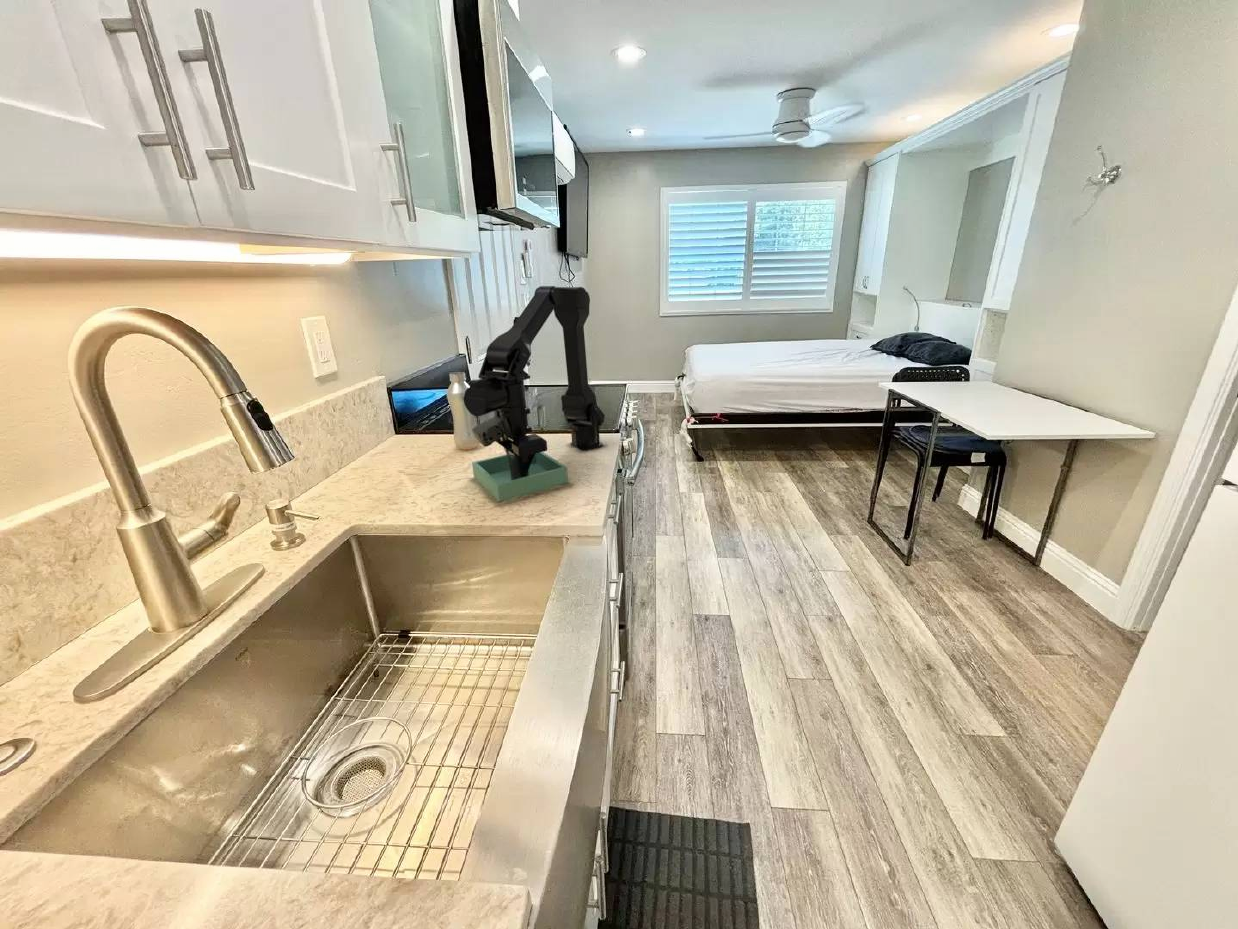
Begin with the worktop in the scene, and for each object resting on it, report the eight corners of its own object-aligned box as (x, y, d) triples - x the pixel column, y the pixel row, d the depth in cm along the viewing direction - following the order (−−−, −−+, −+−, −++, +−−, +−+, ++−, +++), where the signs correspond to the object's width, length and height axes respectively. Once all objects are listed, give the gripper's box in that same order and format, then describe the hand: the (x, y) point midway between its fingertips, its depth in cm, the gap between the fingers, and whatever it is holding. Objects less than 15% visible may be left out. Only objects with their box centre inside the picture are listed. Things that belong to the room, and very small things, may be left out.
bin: (537, 464, 118) (536, 447, 117) (568, 485, 106) (567, 467, 105) (474, 480, 110) (471, 462, 109) (500, 505, 98) (497, 485, 97)
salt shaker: (525, 474, 111) (521, 445, 108) (532, 480, 107) (529, 450, 105) (508, 478, 108) (504, 449, 106) (515, 484, 105) (511, 454, 103)
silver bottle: (474, 452, 127) (463, 376, 119) (450, 451, 128) (438, 375, 121) (485, 444, 133) (475, 370, 125) (462, 443, 134) (451, 370, 127)
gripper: (459, 401, 105) (469, 468, 111) (490, 421, 90) (500, 497, 96) (508, 393, 110) (515, 457, 116) (545, 410, 96) (551, 483, 102)
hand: (519, 473), depth 107 cm, fingers closed on salt shaker, 4 cm apart
